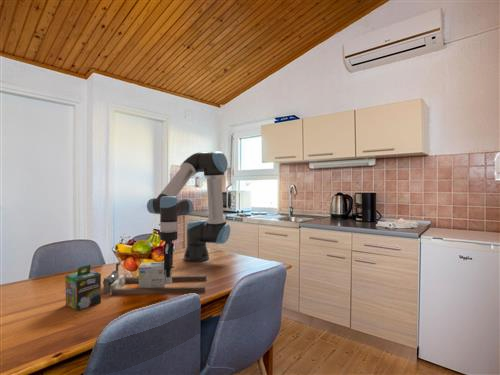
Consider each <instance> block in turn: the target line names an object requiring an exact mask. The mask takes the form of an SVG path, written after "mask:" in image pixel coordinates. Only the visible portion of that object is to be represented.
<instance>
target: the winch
mask: <svg viewBox="0 0 500 375" xmlns="http://www.w3.org/2000/svg"><path fill="white" fill-rule="evenodd" d="M120 265H121V262H117V263H116V264H115V270H112V273H110V274H109V275H108V276H107V277H105V278H103V281H102V285H103V294H109V293H110V285H111V284H113V283H114V282H115V281H116V280H117V279H118V278H119V277H120V274H119V266H120Z"/></svg>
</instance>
